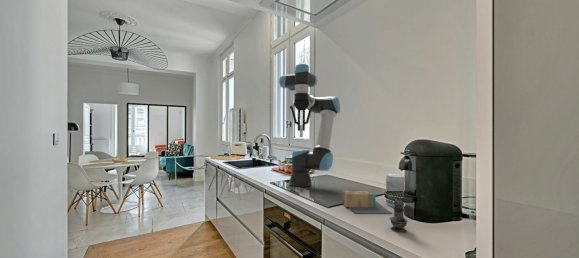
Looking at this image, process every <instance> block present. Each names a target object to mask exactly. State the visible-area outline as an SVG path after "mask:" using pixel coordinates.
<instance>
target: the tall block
mask: <svg viewBox="0 0 579 258" xmlns="http://www.w3.org/2000/svg"><path fill="white" fill-rule="evenodd" d="M376 196H377V194H376V193H375V192H373V191H371V190H365V191H364V190H363V191H361V190H343V191H342V205H343V206H344V207H345V208H350V207H376V201H377V199H376Z"/></svg>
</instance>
